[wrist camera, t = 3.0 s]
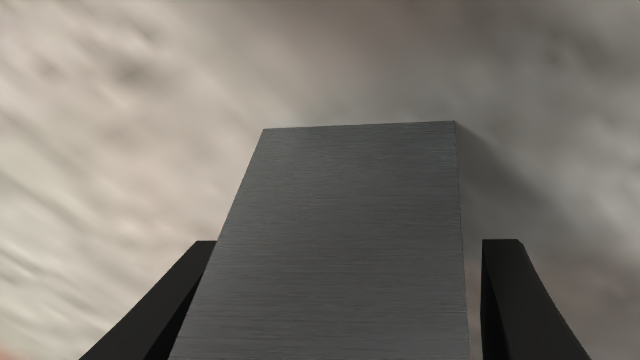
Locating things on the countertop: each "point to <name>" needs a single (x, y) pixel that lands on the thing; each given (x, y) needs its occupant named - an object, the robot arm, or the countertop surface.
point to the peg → (338, 251)
